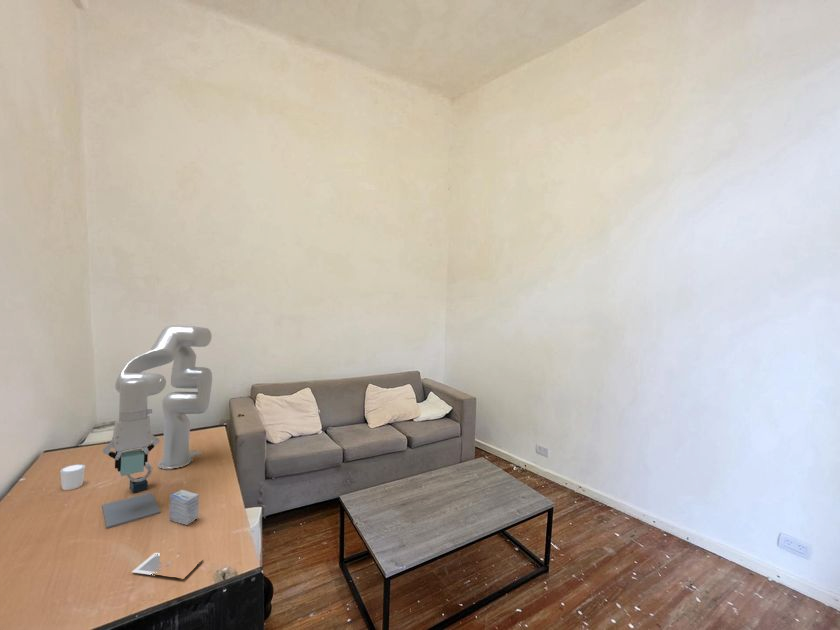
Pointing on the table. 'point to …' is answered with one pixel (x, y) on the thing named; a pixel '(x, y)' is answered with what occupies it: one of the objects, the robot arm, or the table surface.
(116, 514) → the mat
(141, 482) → the watch
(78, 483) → the white cylinder
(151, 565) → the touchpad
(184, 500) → the medicine box
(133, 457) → the cube
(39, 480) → the table surface
